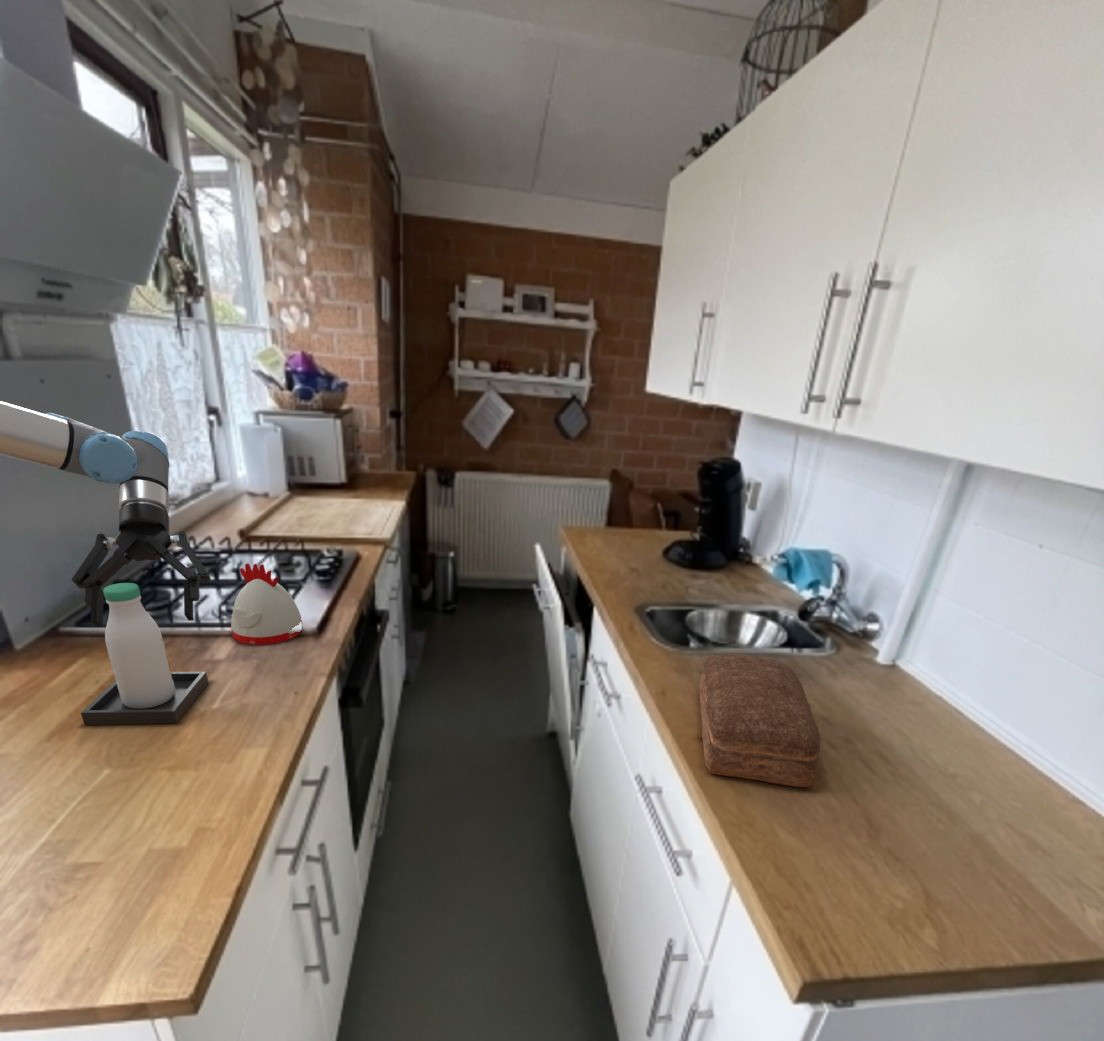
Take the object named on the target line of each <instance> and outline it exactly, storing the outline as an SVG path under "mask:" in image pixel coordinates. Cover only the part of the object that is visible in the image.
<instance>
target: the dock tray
mask: <svg viewBox="0 0 1104 1041" xmlns="http://www.w3.org/2000/svg"><path fill="white" fill-rule="evenodd" d="M171 674H172V678H173V682H174V687H175V694H174V696H173V697H172V698H171V699H170V700H169V701H167V702H165V703H163V704H161V705H158V706H154V707H150V708H143V709H135V708H129V707H127V706H125V705H124V704H123V703H122V700H121V697H120V694H119V690H118V687H117V683H116V680H114V681H113V682H112V683H111V684H110V685H109V686H108V687H106V689H105V690H103V692H101V694H99V695H98V696H97V697H96V698H95V699H94V700H93V701H91V703H90V704H89V705H87V706H86V707H85V708H84V709H83V710H82V711H81V712H80V715H81V718H82V721H83V722H82V723H83V725H84V726H108V725H109V726H110V725H113V726H115V725H119V726H120V725H158V724H159V725H161V724H163V725H164V724H165V725H167V724H168V725H169V724H178V723H179V721H180V720H181V719H182V717H183V716H184V715H185V714H186V712H187V711H188V710H189V709H190V708H191V706H192V704H193V703H194V702H195V701H196V700H197V698H198V697H199V696H200V694H201V693H202V692H203V691H204V690H205V688H206V686H207V685H208V684H209V678H208V674H207V671H171Z"/></svg>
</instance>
